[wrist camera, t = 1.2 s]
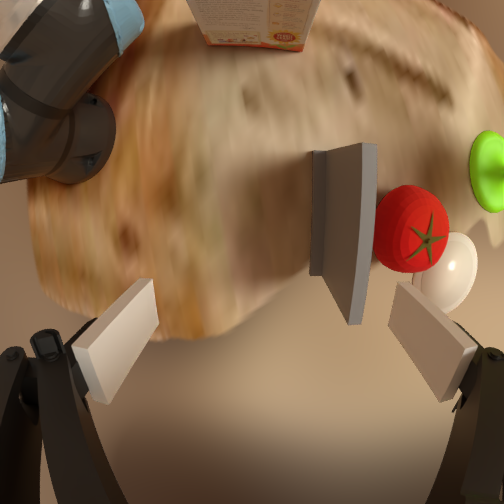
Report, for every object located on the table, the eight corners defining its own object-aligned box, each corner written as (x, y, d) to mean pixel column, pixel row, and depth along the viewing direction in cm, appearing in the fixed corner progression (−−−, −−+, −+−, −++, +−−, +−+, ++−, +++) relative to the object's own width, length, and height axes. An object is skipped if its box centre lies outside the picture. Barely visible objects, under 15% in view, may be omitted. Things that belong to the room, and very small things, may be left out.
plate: (419, 230, 39) (422, 231, 38) (481, 232, 38) (484, 234, 37) (403, 317, 43) (405, 320, 43) (464, 309, 43) (466, 311, 42)
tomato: (353, 254, 40) (380, 280, 30) (371, 175, 37) (405, 179, 27) (412, 265, 41) (445, 290, 31) (430, 193, 37) (470, 203, 27)
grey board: (312, 150, 36) (343, 140, 22) (346, 152, 36) (393, 146, 22) (309, 273, 41) (332, 326, 27) (340, 273, 41) (375, 323, 27)
